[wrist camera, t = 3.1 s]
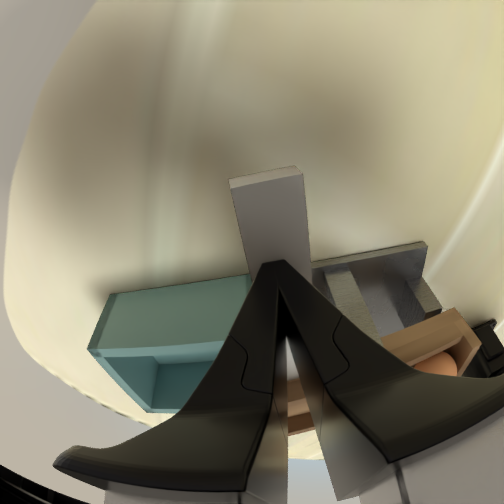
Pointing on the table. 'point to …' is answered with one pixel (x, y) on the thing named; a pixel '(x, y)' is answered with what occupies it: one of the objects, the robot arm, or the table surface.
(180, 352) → the bin
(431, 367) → the ball
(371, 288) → the stand
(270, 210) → the lever
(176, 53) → the table surface
